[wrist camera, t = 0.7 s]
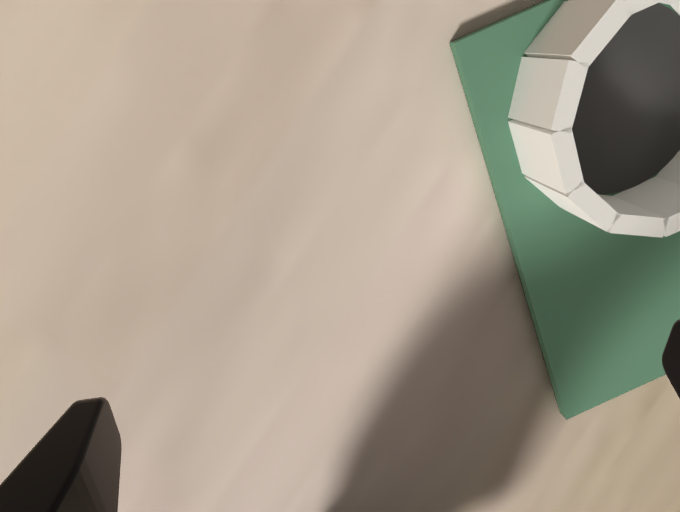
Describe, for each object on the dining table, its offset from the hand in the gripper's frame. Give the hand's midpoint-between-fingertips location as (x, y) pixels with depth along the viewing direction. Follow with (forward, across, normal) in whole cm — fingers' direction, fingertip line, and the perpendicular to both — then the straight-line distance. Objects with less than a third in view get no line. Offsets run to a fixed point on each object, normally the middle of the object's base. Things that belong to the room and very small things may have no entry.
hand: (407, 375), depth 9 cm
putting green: (+16, -19, +5) cm, 25 cm away
